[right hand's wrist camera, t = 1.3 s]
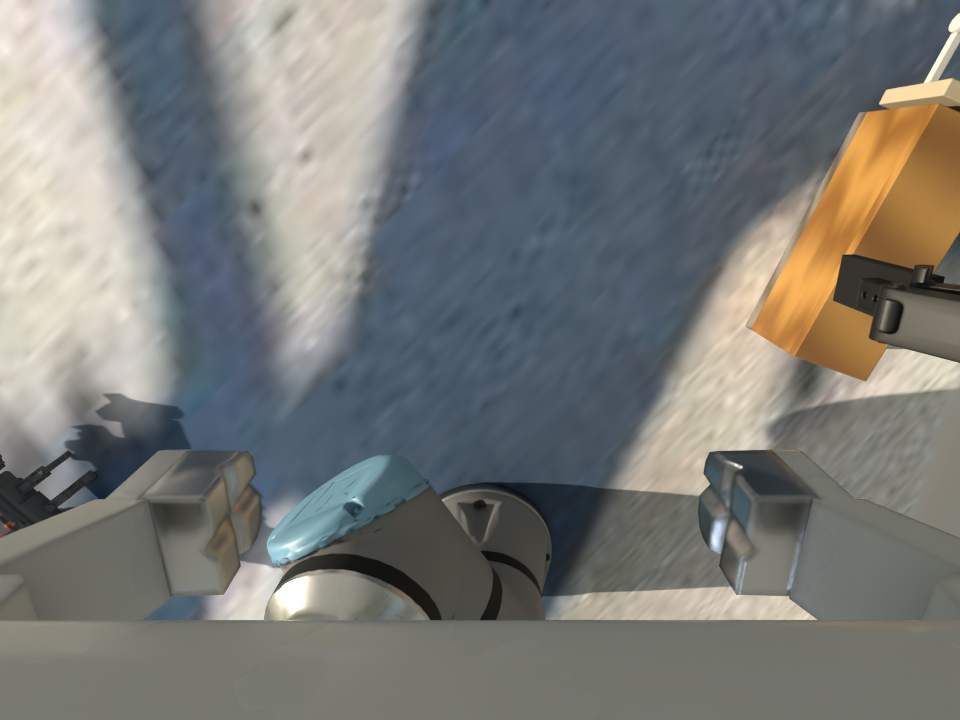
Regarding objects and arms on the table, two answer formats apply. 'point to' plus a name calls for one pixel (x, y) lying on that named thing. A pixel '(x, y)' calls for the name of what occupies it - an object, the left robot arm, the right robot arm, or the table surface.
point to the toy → (31, 497)
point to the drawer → (931, 81)
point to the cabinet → (865, 232)
